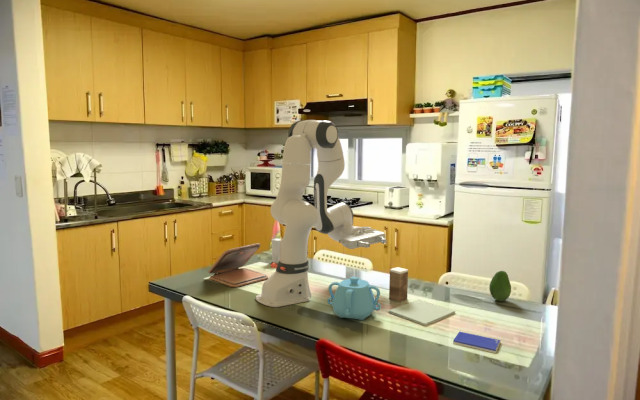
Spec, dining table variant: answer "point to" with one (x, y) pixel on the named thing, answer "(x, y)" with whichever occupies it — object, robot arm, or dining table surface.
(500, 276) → the fruit
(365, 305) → the decorative pot
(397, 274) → the walnut block
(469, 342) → the hard drive
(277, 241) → the skincare box
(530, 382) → the dining table surface
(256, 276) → the case
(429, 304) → the sage mat
